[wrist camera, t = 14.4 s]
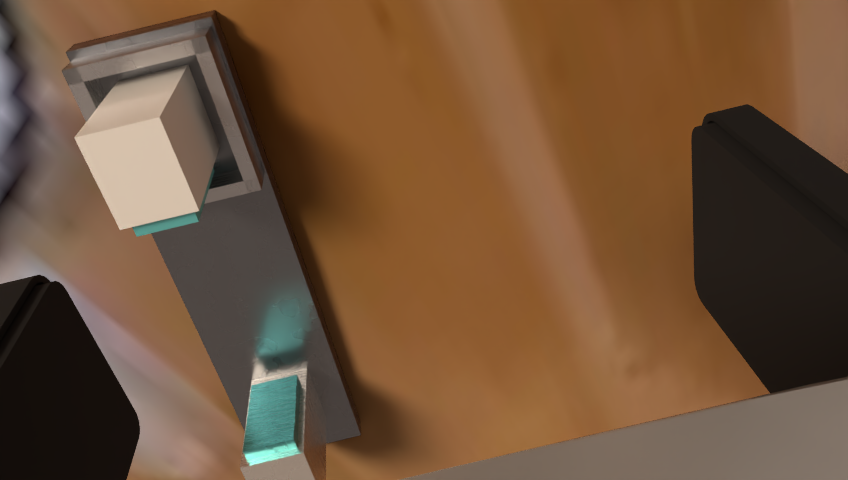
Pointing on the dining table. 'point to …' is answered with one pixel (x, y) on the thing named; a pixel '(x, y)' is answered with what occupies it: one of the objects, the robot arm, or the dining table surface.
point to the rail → (238, 259)
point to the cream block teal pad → (152, 151)
